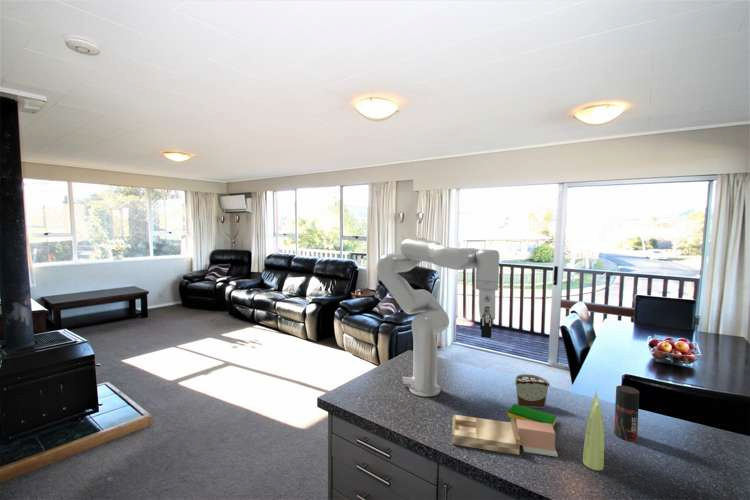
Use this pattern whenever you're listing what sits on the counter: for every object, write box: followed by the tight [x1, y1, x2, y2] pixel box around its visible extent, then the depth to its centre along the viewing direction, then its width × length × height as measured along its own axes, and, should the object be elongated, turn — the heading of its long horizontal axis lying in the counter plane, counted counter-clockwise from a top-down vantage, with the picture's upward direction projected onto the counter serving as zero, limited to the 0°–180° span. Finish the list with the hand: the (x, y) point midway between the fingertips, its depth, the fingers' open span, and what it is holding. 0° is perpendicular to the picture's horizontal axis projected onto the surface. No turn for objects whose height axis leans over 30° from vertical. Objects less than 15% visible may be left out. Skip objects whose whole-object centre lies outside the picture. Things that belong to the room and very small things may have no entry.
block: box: [515, 419, 556, 451], centre depth 106 cm, size 5×5×10 cm
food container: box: [513, 373, 550, 409], centre depth 132 cm, size 12×6×10 cm, turn 84°
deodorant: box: [613, 385, 640, 442], centre depth 111 cm, size 6×6×15 cm
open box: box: [451, 414, 521, 456], centre depth 109 cm, size 19×12×4 cm, turn 76°
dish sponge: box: [507, 403, 557, 428], centre depth 121 cm, size 7×14×2 cm, turn 52°
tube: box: [582, 391, 605, 471], centre depth 96 cm, size 6×5×20 cm
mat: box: [521, 445, 559, 458], centre depth 106 cm, size 9×9×1 cm
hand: (485, 333), depth 124 cm, fingers open, 9 cm apart
